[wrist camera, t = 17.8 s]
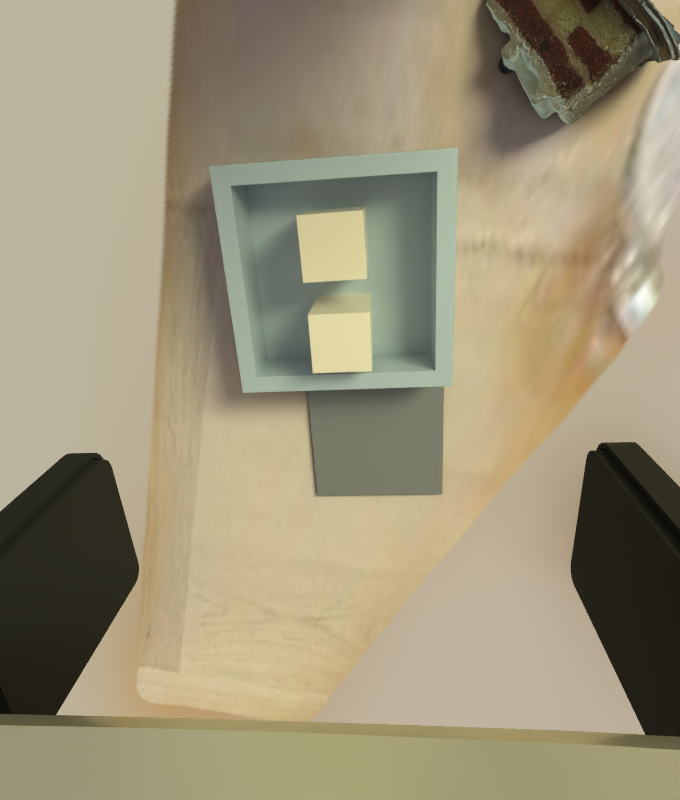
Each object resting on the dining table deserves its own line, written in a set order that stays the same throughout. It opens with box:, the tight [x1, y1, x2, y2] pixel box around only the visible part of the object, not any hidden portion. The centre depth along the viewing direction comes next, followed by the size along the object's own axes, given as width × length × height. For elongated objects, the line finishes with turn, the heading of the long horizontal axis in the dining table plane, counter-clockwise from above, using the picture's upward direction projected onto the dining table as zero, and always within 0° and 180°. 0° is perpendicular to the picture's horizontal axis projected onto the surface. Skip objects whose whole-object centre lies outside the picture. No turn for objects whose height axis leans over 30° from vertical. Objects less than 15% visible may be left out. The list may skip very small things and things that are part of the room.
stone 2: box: [308, 293, 373, 373], centre depth 36 cm, size 4×4×6 cm
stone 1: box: [296, 206, 369, 283], centre depth 34 cm, size 4×4×6 cm
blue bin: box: [209, 148, 458, 393], centre depth 36 cm, size 15×15×4 cm
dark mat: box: [308, 386, 444, 496], centre depth 43 cm, size 11×11×1 cm
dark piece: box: [486, 0, 680, 124], centre depth 30 cm, size 10×7×12 cm
